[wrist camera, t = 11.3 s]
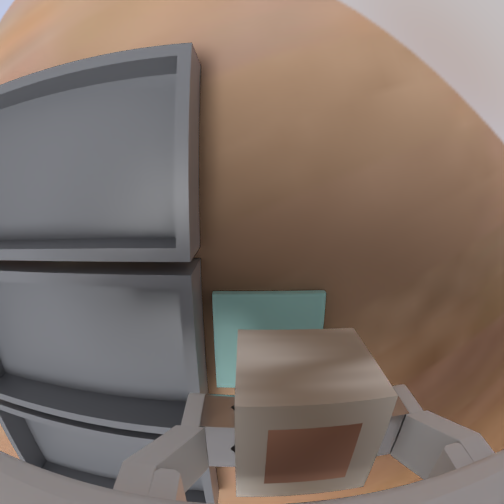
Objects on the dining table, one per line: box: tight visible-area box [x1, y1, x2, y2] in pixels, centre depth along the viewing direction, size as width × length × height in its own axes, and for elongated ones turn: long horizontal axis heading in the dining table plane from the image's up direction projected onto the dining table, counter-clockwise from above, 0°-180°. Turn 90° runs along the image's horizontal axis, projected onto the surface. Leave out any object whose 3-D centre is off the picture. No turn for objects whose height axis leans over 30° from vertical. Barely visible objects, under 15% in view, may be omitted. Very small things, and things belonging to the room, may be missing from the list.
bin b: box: [0, 258, 209, 434], centre depth 13 cm, size 14×8×3 cm, turn 90°
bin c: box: [0, 43, 201, 262], centre depth 12 cm, size 14×8×3 cm, turn 90°
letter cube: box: [235, 328, 398, 497], centre depth 9 cm, size 4×4×4 cm
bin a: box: [0, 399, 219, 504], centre depth 15 cm, size 14×8×3 cm, turn 90°
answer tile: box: [212, 290, 326, 388], centre depth 15 cm, size 5×5×1 cm
